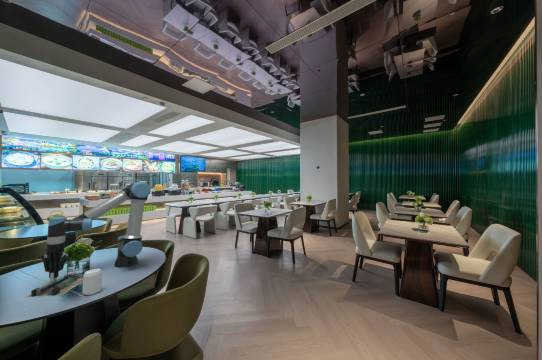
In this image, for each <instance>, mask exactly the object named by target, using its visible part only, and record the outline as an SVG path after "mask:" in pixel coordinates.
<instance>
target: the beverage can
mask: <svg viewBox="0 0 542 360" xmlns="http://www.w3.org/2000/svg"><path fill="white" fill-rule="evenodd" d="M102 275H103V272H102V269H101V268H92V269H89V270H86V271H85V272H84V274H83V275H82V278H83V282H82V294H84V296H91V295H95V294H98V293H99V292H100V291H101V290H102V280H103V279H102V277H103V276H102Z"/></svg>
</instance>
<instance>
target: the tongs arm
mask: <svg viewBox="0 0 542 360" xmlns="http://www.w3.org/2000/svg"><path fill="white" fill-rule="evenodd" d="M76 274H77V272H70V273H68V274H65V275H64V276H62V277H58V278H57V280H55V281H53V282H51V283H50V282H49V283H47V284H45V285H43V286H40V287H36V288H34V289H32V290H30V292H31V293H30V294H31V296H36V297H39V296H38V295H42V294H44V293H46V292H48V289H50V288H52V287H54V286H56V285H58V284H59V283H61V282H63V281H65V280H66V279H68V278H69V276H73V275H75V276H76Z"/></svg>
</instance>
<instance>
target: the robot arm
mask: <svg viewBox="0 0 542 360" xmlns="http://www.w3.org/2000/svg"><path fill="white" fill-rule="evenodd" d="M150 193H151V187H150V185H149V184H147V183H146V182H144V181H135V182H132V183H130V184H128V185H127V186H126V187H124V188H123V189H121V190H120V192H119V193H116V194H115V195H113V196H112V197H110V198H108V199H106V200H104V201H103V202H100V203H98V204H97V205H95V206H94V207H92V208H90V209H89V210H87V211H85V212H83V213H82V214H79V215H77V216H75V217H74V218H72V219H68V218H67V217H66V216H55V217H54V216H53V217H50V218H49V220H48V226H47V238H46V248H45V249H46V253H45V254H43V255H41V256H40V258H41V259H42V262H43V263H42V264H43V268H44V272H45V273H48V278H49V284H50V283H51V282H53V281H55V280H57V279H58V278H59V275H60V274H59V272H60V271H62V270H63V269H64V267H65V264H66V262H67V259H68V257H69V256H70V254H69V253H65V248H66V233H70V232H71V233H72V232H83V231H84V232H85V231H90V230H92V229H93V228H92V227H93V221H95V220H97V219H99V217H102V216H103V215H105V214H106V213H108V212H110V211H112V210H113V209H115V208H116V207H118V206H120V205H122V204H123V203H125V202H126V201H130V205H129V206H130V207H129V213H128V221H127V228H126V233H125V234H124V235H120V236H118V238H117V257H116V260H115V262H114V265H113V266H114V268H127V267H128V268H129V267H131V266H135V264H137V263H138V264H139V259H138V255H139V254H140V253H141V252H142V250H143V243H142V241H143V240H142V239H143V236H142V235H141V231H142V226H143V225H142V223H143V217H144V210H145V203H146V202H147V201H148V197H149V195H150ZM138 264H137V265H138Z"/></svg>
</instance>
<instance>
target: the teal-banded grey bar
mask: <svg viewBox="0 0 542 360" xmlns="http://www.w3.org/2000/svg"><path fill="white" fill-rule="evenodd" d="M77 279H78V275H76V274H75V275H73V276H68V279H66V280H65V281H63V282H61V283H59V284H58V285H56V286H54V287H52V288H50V289H48V293H47V296H48V295H49V296H58V295H57V294H58V293H60V291H61V290H62V289H64V288H66V287H68V286H69V285H71V284H73V283H74V282H76V281H77ZM47 296H46V297H47Z"/></svg>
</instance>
